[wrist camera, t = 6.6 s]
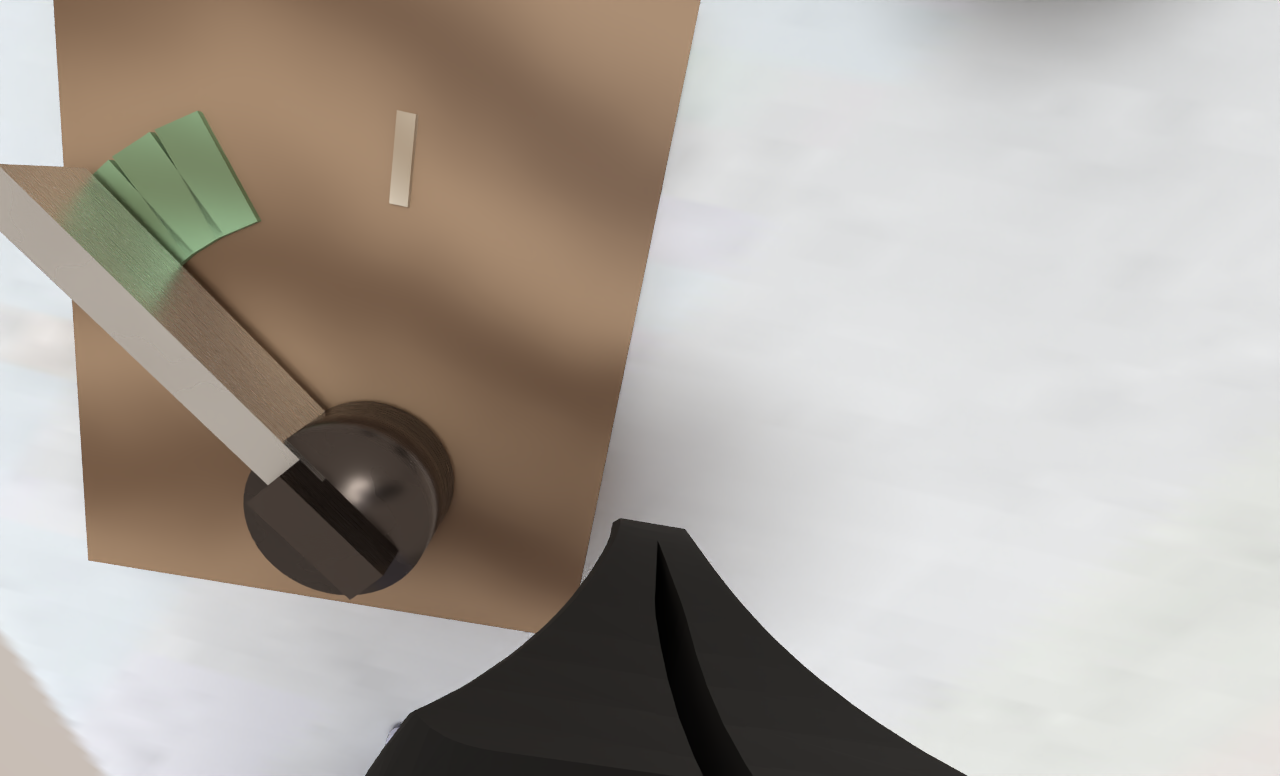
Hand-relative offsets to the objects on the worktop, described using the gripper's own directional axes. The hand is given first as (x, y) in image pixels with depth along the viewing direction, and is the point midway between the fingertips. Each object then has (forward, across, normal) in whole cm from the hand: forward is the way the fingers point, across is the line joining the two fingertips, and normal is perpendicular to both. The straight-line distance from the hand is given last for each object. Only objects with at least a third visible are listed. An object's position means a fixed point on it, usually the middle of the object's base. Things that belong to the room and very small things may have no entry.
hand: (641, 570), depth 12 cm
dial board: (+9, +9, -2) cm, 13 cm away
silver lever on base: (+8, +11, 0) cm, 13 cm away
